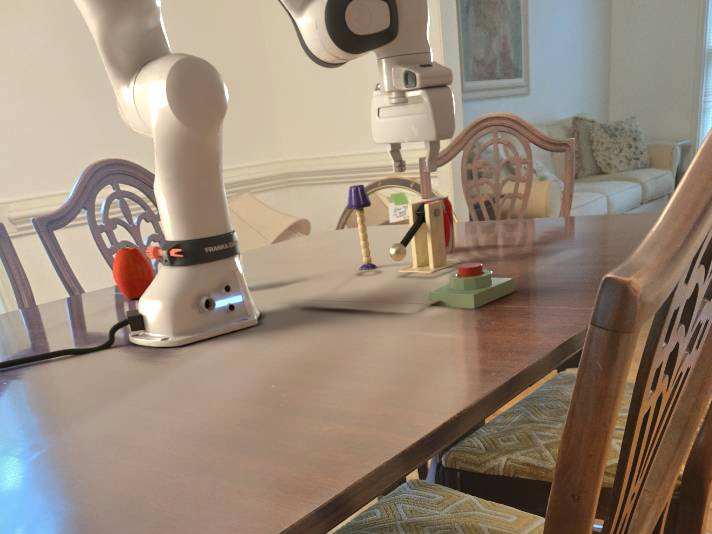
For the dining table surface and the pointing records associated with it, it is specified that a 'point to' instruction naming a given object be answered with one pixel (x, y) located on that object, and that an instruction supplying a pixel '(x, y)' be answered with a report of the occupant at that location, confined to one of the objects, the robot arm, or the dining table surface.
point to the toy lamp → (361, 221)
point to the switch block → (471, 290)
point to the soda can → (445, 220)
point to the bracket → (428, 240)
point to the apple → (132, 272)
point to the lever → (408, 236)
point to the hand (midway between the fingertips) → (414, 172)
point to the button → (470, 270)
